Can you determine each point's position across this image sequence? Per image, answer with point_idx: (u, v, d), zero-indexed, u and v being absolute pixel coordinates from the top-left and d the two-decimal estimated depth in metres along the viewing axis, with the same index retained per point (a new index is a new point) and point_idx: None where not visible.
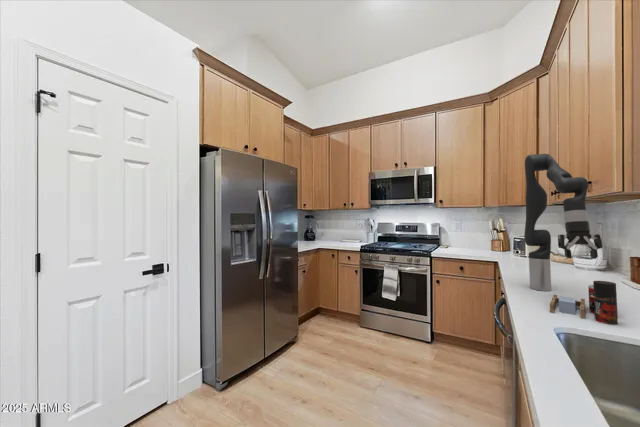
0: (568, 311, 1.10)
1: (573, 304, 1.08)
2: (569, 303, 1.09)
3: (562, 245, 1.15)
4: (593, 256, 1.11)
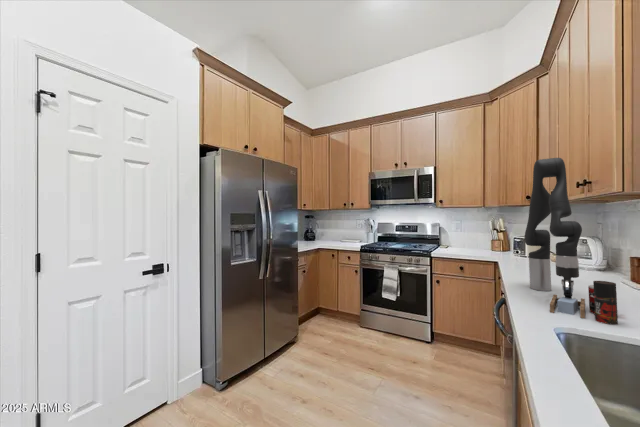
0: (566, 311, 1.10)
1: (571, 304, 1.08)
2: (567, 303, 1.09)
3: (571, 293, 1.14)
4: None
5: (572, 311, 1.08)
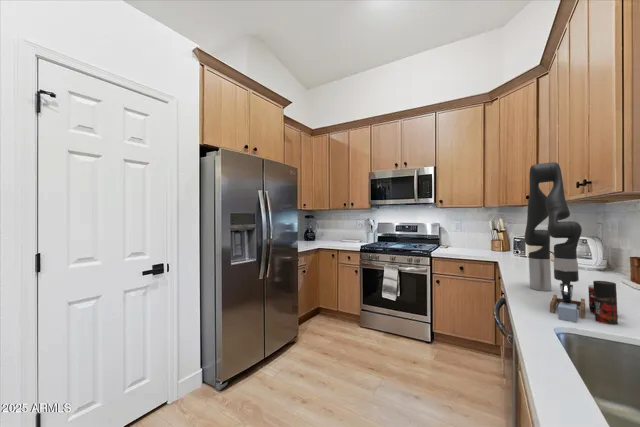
0: (568, 318, 1.02)
1: (574, 310, 1.01)
2: (569, 309, 1.02)
3: (570, 299, 1.07)
4: None
5: (574, 318, 1.01)
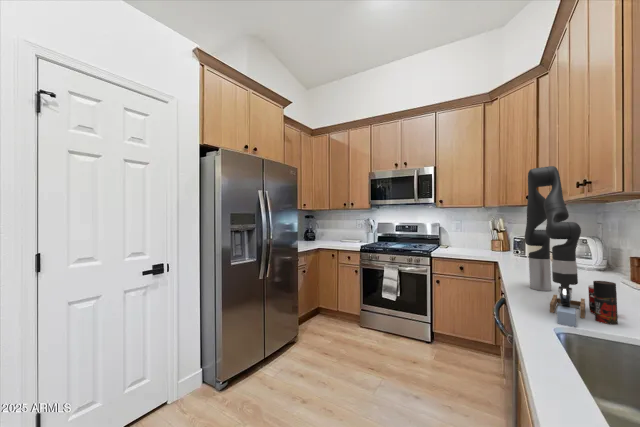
0: (567, 323, 0.98)
1: (573, 315, 0.97)
2: (569, 314, 0.98)
3: (569, 302, 1.03)
4: None
5: (574, 323, 0.96)
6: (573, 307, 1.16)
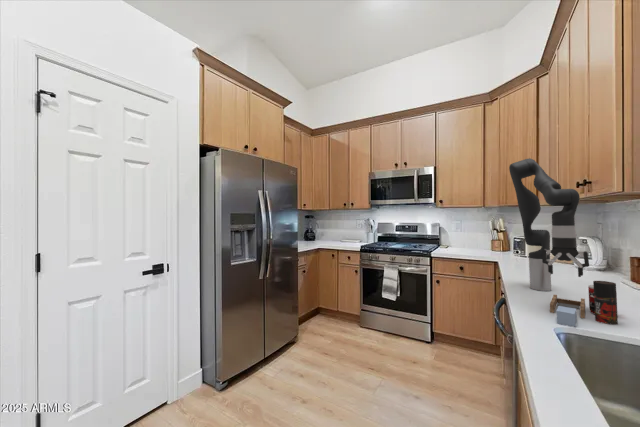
0: (566, 323, 0.98)
1: (572, 315, 0.97)
2: (568, 314, 0.98)
3: None
4: (552, 271, 1.13)
5: (573, 323, 0.97)
6: (573, 307, 1.16)
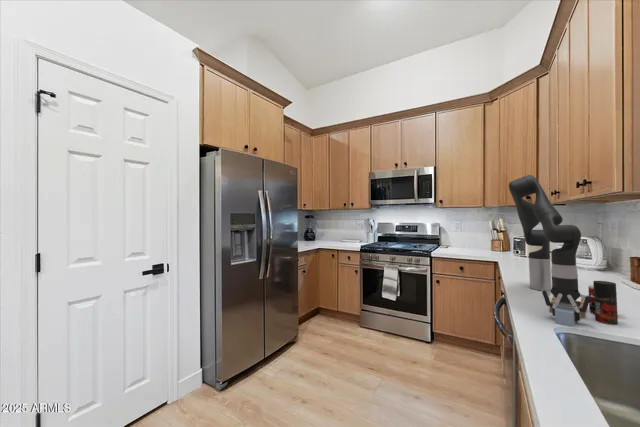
0: (565, 322, 0.98)
1: (571, 314, 0.97)
2: (566, 313, 0.98)
3: None
4: None
5: (571, 322, 0.97)
6: (573, 307, 1.16)
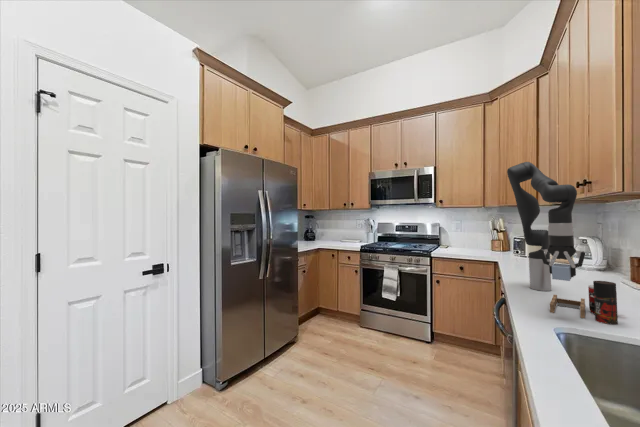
0: (561, 277, 1.02)
1: (567, 269, 1.01)
2: (563, 268, 1.02)
3: None
4: None
5: (568, 276, 1.01)
6: (573, 307, 1.16)
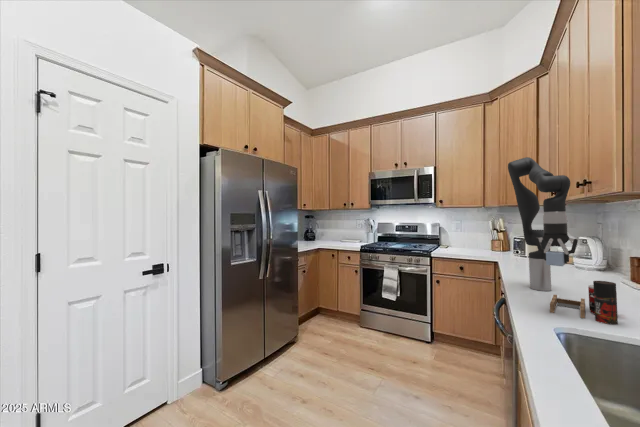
0: (555, 262, 1.07)
1: (560, 255, 1.06)
2: (556, 254, 1.07)
3: None
4: None
5: (561, 262, 1.06)
6: (573, 307, 1.16)
